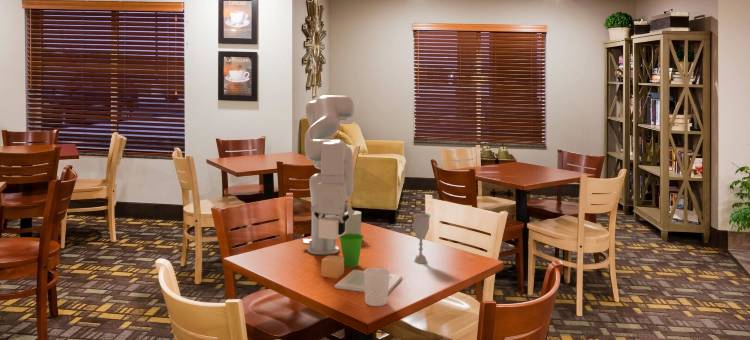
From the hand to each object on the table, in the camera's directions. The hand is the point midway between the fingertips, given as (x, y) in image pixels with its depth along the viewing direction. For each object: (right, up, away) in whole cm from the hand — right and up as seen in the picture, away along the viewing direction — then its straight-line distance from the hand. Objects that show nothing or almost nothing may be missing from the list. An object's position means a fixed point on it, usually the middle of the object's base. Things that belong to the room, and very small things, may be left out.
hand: (332, 232), depth 204 cm
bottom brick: (0, -1, 0) cm, 1 cm away
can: (+4, -9, +62) cm, 63 cm away
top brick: (-1, -16, +12) cm, 20 cm away
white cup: (+15, -20, -15) cm, 29 cm away
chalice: (+32, -14, +29) cm, 45 cm away
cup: (+5, -15, +23) cm, 28 cm away
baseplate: (+12, -17, +3) cm, 22 cm away
